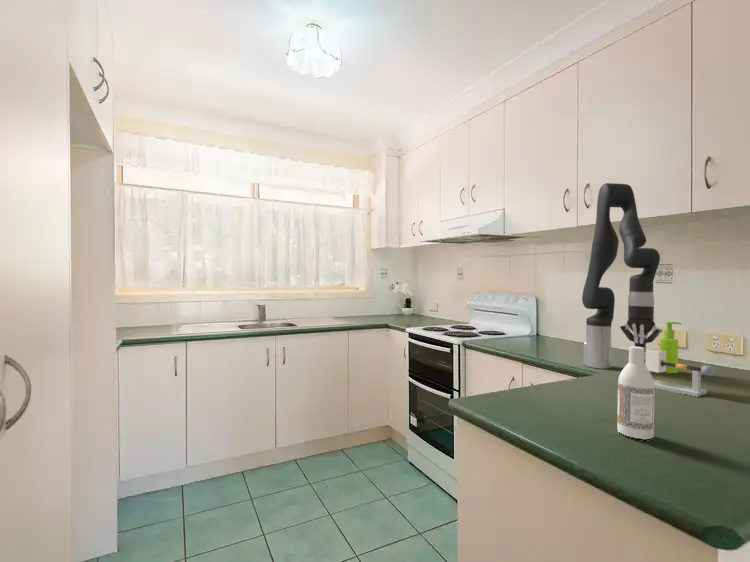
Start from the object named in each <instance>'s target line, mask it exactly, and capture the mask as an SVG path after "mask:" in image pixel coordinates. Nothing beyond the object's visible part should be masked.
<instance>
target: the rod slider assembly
mask: <svg viewBox="0 0 750 562" xmlns="http://www.w3.org/2000/svg"><path fill="white" fill-rule="evenodd" d="M644 363H645V358H644ZM661 365H663V366H670V367H676V368H678V369H680V370H685V371H686V370H688V371H689V370H690V371H691V376H692V377H691V379H692V380H691V386H690V385H683V384H679V383H678V384H677V383H673V382H667V381H663V380H657V379H653V380H654V386H655V388H656V389H655V390H660V389H661V390H662V391H665V390H666V392H670V393H676V394H680V393H681V394H680V395H684V394H687V395H686V396H689V395H692V396H691V397H694V396H696V397H695V398H699V397H702V396H704V395H707V394H708V389H705V388H702V387H701V386H702V376H703V375H704V376H709V377H713V376H714V374H715V368H714V366H712V365H704V364H702V365H701V366H700V367H699V366H693V365H688V364H682V363H678V364H677V363H676V364H674V363H667V362H661ZM661 390H660V391H661ZM701 395H702V396H701ZM698 396H699V397H698Z"/></svg>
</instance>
